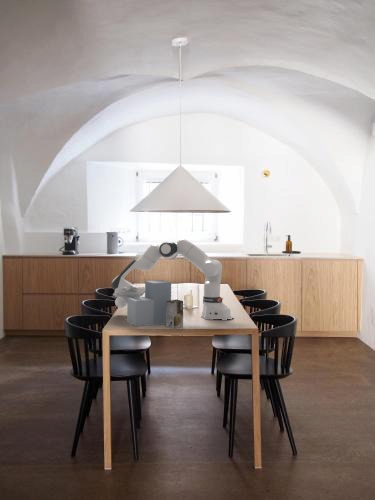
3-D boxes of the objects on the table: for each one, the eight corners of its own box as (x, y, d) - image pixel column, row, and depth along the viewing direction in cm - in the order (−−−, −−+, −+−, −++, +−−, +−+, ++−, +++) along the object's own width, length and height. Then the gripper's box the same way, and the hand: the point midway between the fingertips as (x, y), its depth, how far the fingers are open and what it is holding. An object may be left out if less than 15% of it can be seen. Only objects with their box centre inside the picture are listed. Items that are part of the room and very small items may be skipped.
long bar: (145, 292, 304) (145, 287, 304) (140, 292, 302) (140, 287, 302) (133, 288, 322) (133, 283, 321) (128, 289, 320) (128, 283, 320)
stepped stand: (127, 322, 311) (127, 281, 310) (161, 319, 322) (162, 280, 321) (135, 326, 298) (135, 283, 297) (170, 323, 310) (171, 282, 308)
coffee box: (175, 324, 305) (175, 299, 304) (183, 326, 301) (183, 300, 300) (165, 327, 298) (166, 300, 297) (173, 328, 293) (174, 301, 293)
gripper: (111, 291, 325) (117, 283, 314) (139, 290, 334) (146, 282, 323) (112, 300, 322) (118, 292, 311) (141, 298, 332) (148, 290, 321)
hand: (133, 286), depth 317 cm, fingers closed on long bar, 2 cm apart
